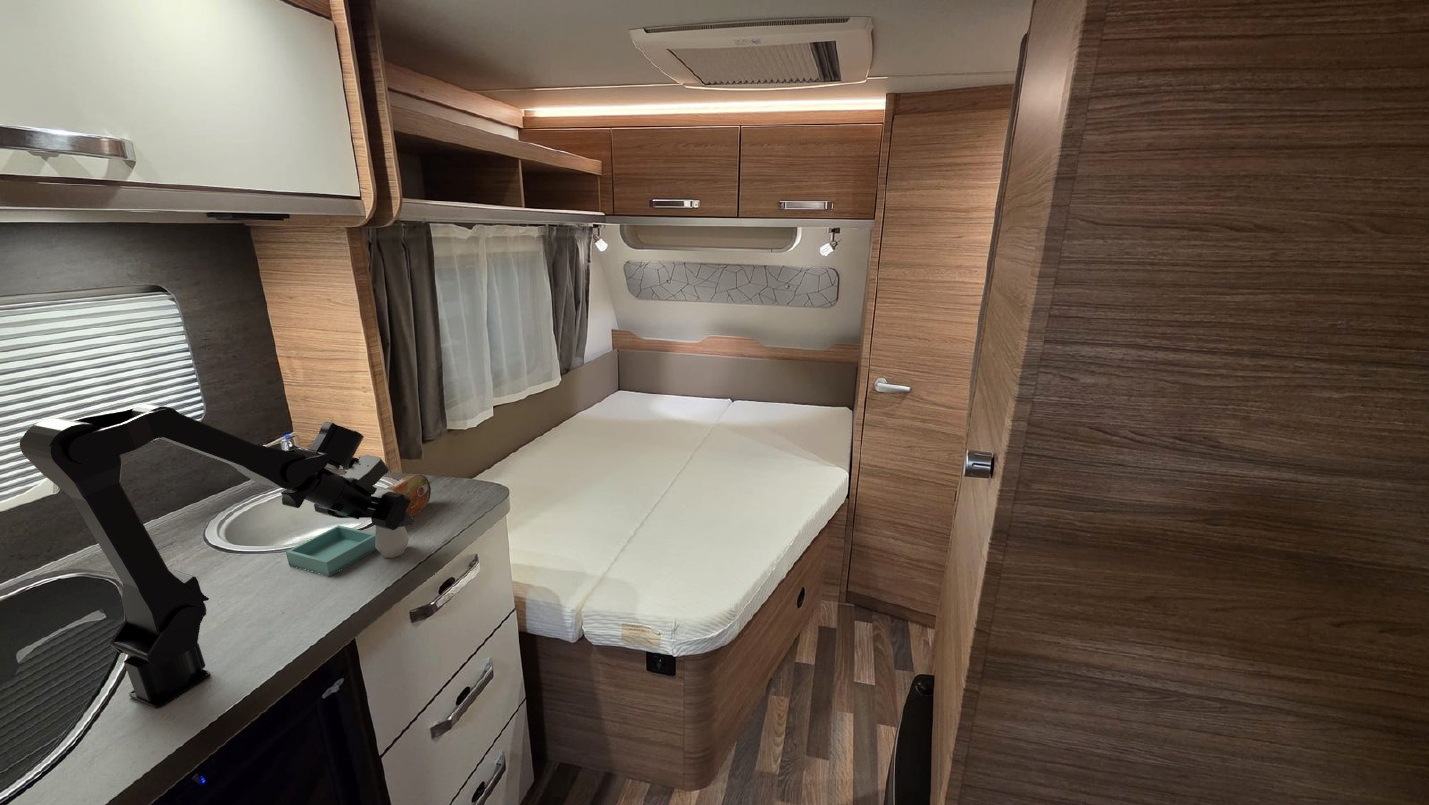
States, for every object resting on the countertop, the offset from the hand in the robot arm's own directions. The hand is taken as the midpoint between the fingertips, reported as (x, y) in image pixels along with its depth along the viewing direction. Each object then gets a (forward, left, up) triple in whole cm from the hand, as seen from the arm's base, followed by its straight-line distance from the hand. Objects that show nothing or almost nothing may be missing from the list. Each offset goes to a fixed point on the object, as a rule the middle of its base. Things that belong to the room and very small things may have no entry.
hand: (394, 518), depth 114 cm
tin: (+11, +10, -7) cm, 16 cm away
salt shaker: (-1, 0, -7) cm, 7 cm away
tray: (-6, +9, -7) cm, 13 cm away
